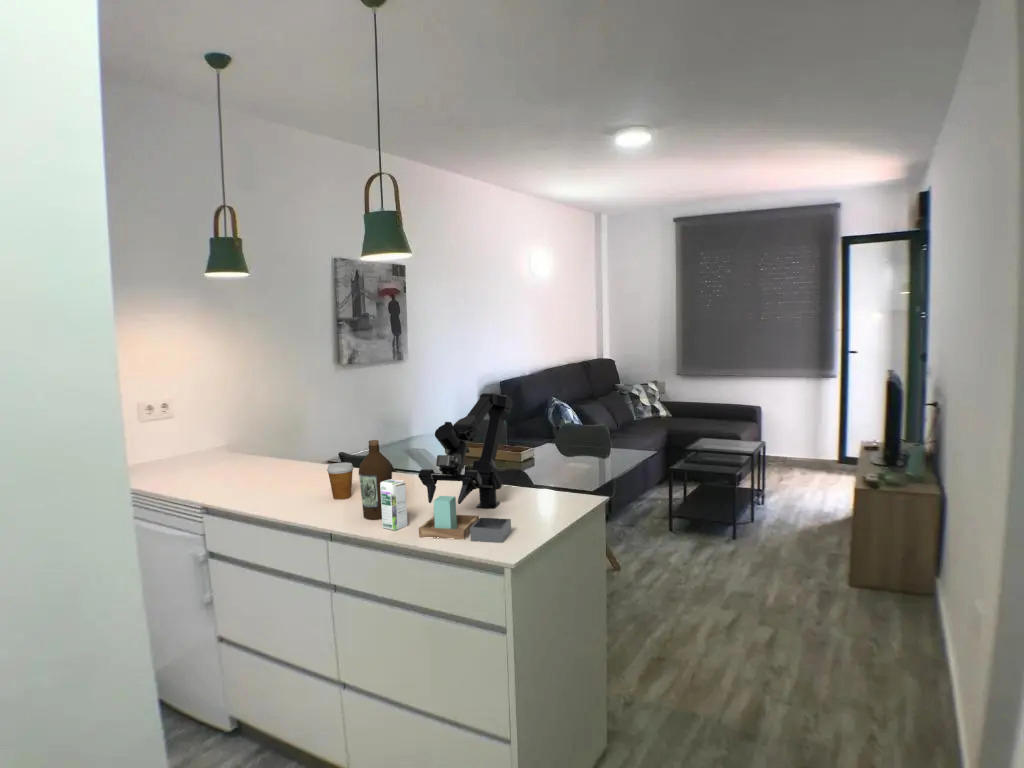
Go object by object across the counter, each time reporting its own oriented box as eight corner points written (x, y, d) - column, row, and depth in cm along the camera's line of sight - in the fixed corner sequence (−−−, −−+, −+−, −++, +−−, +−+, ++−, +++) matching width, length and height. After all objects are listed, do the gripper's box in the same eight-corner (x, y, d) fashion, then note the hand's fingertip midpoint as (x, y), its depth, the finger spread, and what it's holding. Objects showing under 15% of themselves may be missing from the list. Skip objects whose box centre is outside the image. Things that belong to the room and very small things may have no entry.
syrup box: (381, 528, 207) (378, 482, 206) (395, 522, 212) (392, 478, 211) (395, 531, 204) (392, 484, 202) (408, 525, 209) (405, 479, 207)
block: (441, 528, 202) (439, 495, 201) (457, 529, 201) (455, 496, 200) (435, 533, 197) (433, 500, 196) (451, 534, 196) (449, 501, 195)
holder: (481, 530, 201) (480, 517, 201) (511, 532, 199) (510, 518, 198) (470, 541, 192) (470, 527, 192) (502, 542, 190) (501, 529, 189)
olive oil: (376, 509, 228) (371, 436, 225) (401, 512, 223) (396, 438, 220) (354, 518, 219) (349, 442, 216) (380, 522, 213) (375, 444, 211)
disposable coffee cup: (323, 498, 245) (321, 465, 244) (346, 492, 252) (344, 461, 251) (337, 502, 239) (335, 469, 237) (360, 496, 245) (358, 464, 244)
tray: (437, 522, 211) (436, 513, 210) (479, 524, 207) (479, 515, 206) (419, 537, 197) (418, 528, 197) (464, 539, 193) (463, 530, 193)
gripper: (418, 443, 203) (405, 488, 194) (477, 443, 198) (466, 490, 189) (430, 462, 212) (418, 506, 202) (486, 463, 207) (476, 509, 197)
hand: (444, 503), depth 198 cm, fingers open, 9 cm apart
